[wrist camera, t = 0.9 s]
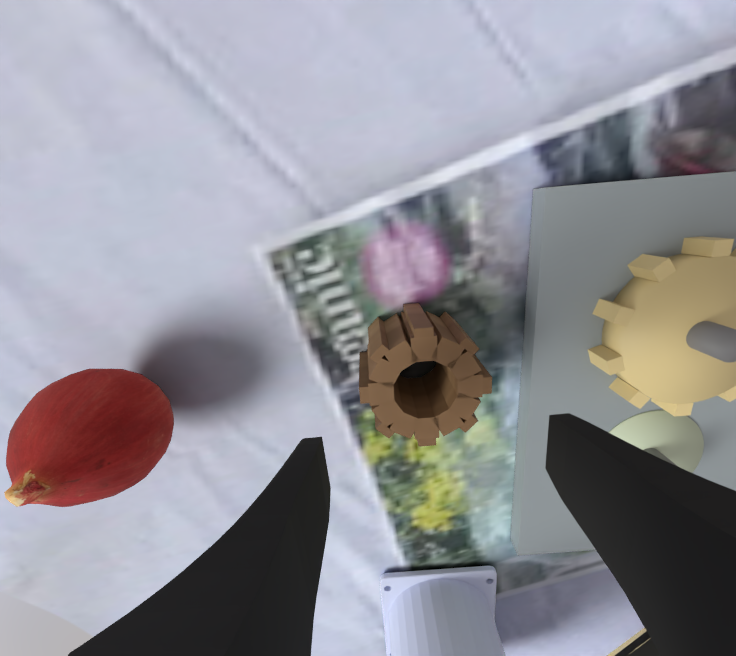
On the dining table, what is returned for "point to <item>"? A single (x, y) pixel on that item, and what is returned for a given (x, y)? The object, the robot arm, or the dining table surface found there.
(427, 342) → the walnut gear
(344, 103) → the dining table surface
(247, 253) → the dining table surface
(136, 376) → the onion
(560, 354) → the gear board
